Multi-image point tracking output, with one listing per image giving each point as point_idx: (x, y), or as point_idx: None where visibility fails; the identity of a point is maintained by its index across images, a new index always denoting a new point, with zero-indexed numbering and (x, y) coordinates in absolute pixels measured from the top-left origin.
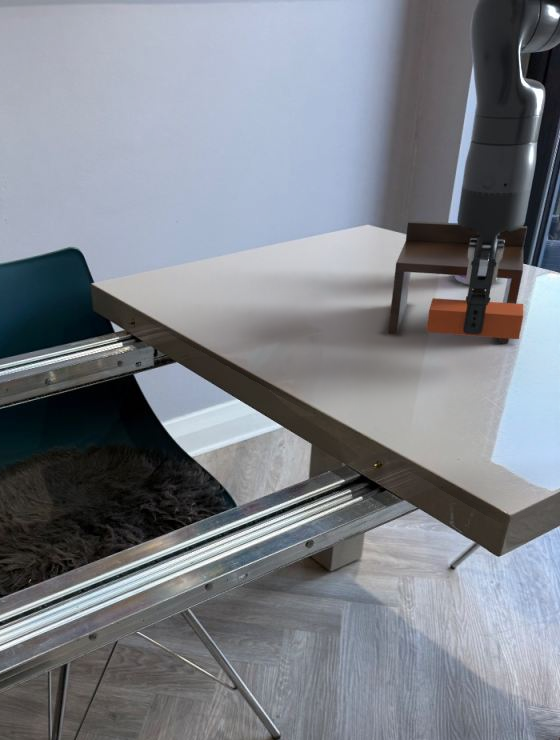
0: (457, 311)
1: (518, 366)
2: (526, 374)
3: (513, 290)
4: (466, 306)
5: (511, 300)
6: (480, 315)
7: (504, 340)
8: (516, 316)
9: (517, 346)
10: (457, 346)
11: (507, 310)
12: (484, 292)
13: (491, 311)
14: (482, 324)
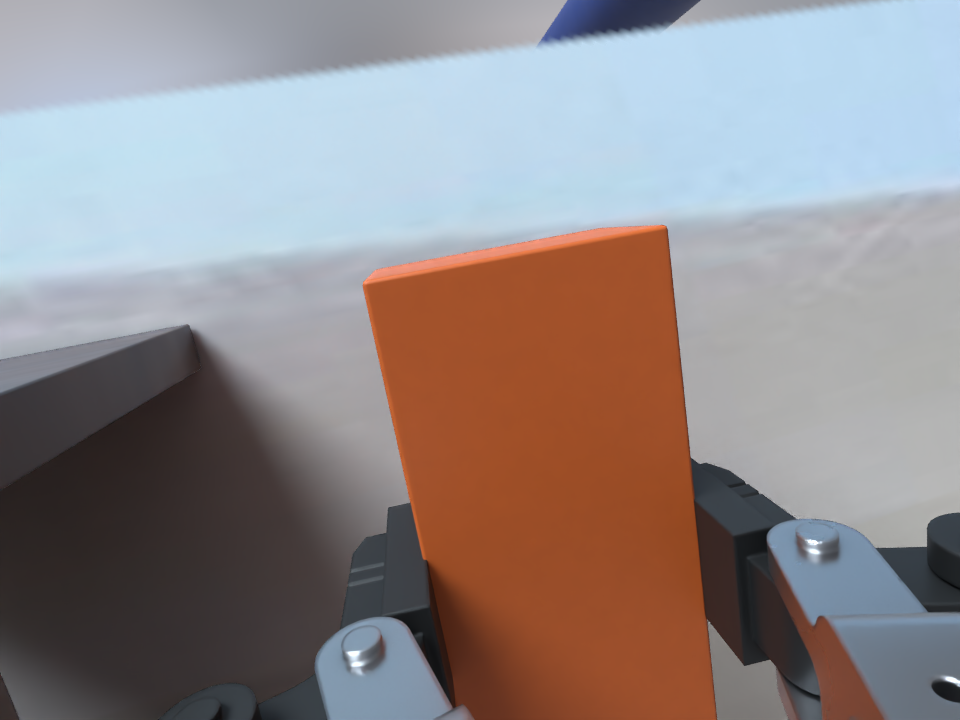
0: (711, 666)
1: (458, 218)
2: (536, 165)
3: (16, 439)
4: (590, 648)
5: (67, 412)
6: (781, 512)
7: (188, 346)
8: (669, 276)
9: (198, 272)
10: (342, 526)
11: (579, 367)
12: (434, 630)
13: (640, 468)
14: (695, 467)
